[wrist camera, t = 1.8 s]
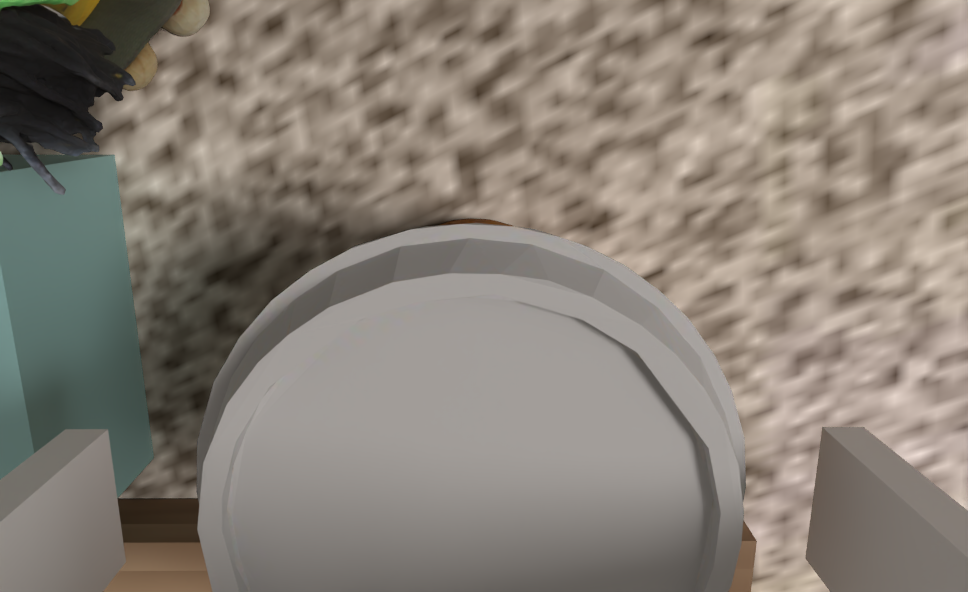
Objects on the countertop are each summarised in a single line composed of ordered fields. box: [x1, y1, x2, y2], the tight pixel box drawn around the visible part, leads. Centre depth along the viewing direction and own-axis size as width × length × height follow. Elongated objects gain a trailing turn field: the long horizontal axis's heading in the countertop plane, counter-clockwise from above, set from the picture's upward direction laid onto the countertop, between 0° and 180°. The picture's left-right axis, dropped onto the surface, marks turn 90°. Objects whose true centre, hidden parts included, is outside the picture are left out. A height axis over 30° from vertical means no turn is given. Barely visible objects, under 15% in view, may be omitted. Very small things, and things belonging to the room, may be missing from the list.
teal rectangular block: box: [0, 155, 154, 498], centre depth 20 cm, size 10×4×6 cm, turn 0°
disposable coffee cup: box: [197, 219, 746, 592], centre depth 17 cm, size 10×10×12 cm
